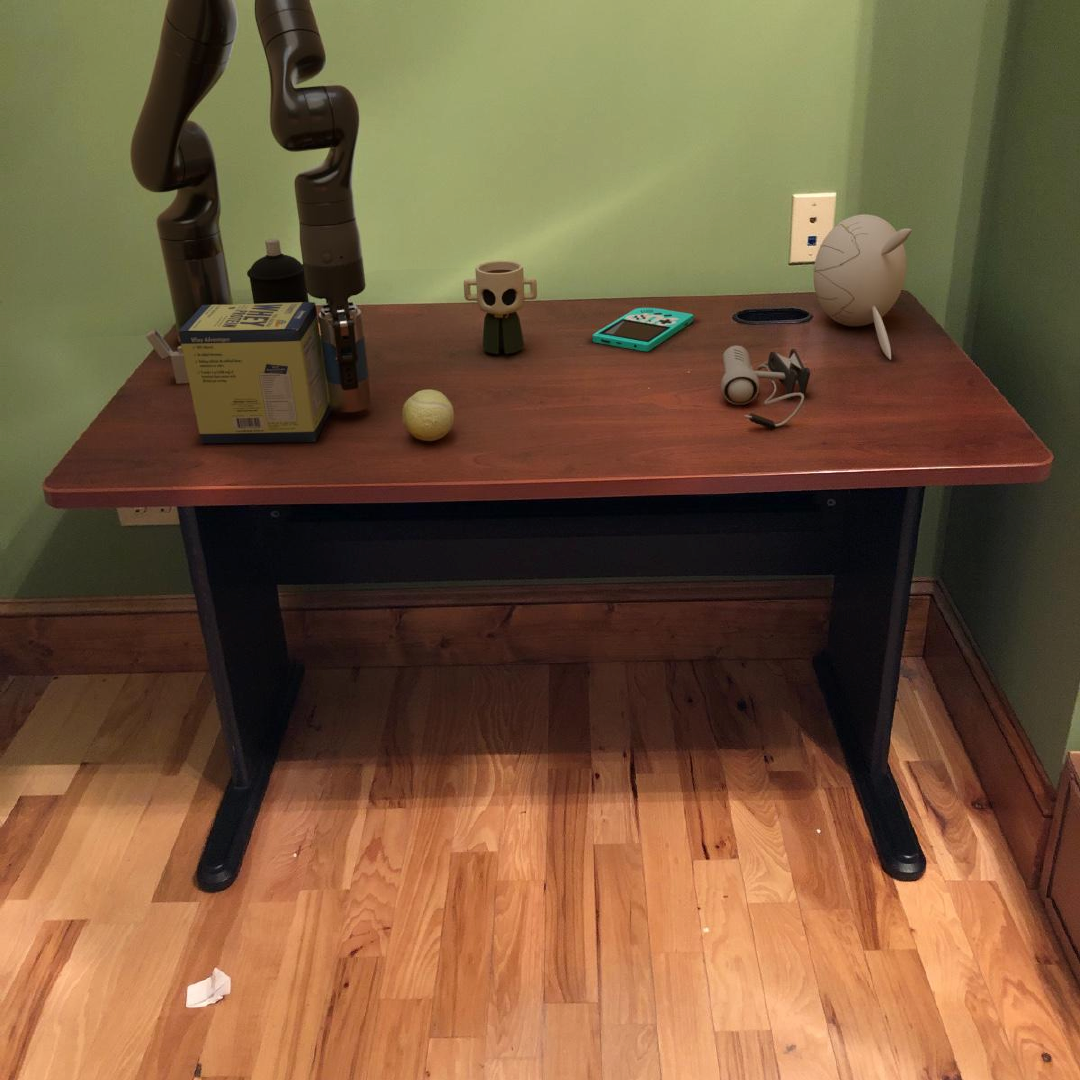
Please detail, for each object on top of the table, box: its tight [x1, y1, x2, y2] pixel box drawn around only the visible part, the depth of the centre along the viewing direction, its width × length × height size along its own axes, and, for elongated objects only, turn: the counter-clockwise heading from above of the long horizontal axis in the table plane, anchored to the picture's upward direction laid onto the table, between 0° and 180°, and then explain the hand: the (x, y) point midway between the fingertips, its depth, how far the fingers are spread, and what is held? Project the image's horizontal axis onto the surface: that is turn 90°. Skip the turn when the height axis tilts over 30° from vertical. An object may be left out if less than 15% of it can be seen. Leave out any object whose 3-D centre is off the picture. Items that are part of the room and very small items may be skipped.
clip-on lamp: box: [720, 345, 811, 430], centre depth 152 cm, size 12×6×18 cm
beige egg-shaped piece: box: [813, 214, 913, 361], centre depth 173 cm, size 19×14×25 cm
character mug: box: [463, 259, 538, 355], centre depth 172 cm, size 11×7×13 cm, turn 87°
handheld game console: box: [592, 307, 694, 353], centre depth 180 cm, size 10×16×1 cm, turn 148°
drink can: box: [317, 303, 372, 413], centre depth 151 cm, size 6×6×13 cm
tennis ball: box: [401, 389, 455, 442], centre depth 146 cm, size 6×7×7 cm
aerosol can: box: [246, 238, 310, 304], centre depth 164 cm, size 8×8×20 cm
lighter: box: [145, 328, 189, 385], centre depth 166 cm, size 7×2×8 cm, turn 94°
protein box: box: [177, 301, 332, 445], centre depth 149 cm, size 10×16×16 cm
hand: (347, 379), depth 153 cm, fingers closed on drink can, 5 cm apart
